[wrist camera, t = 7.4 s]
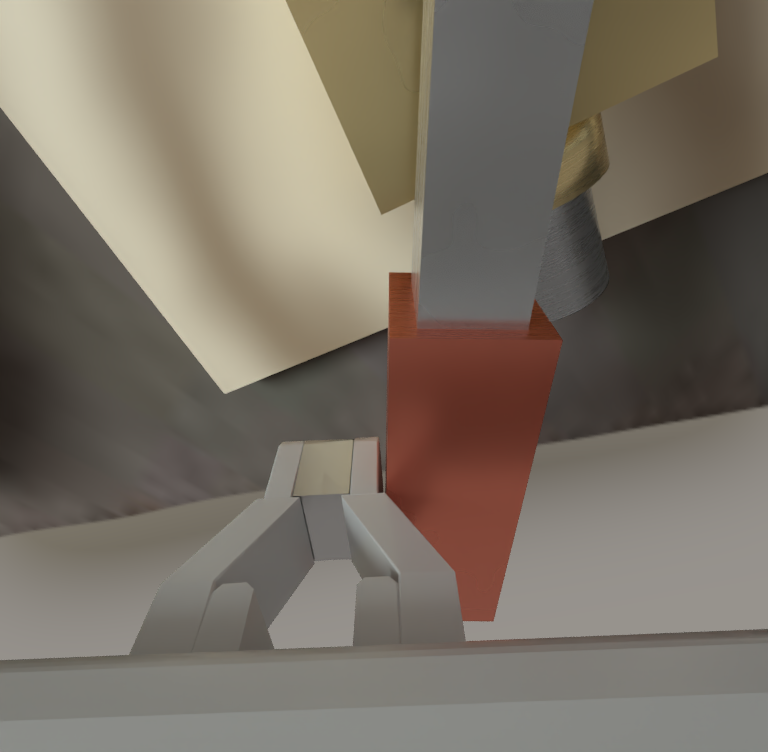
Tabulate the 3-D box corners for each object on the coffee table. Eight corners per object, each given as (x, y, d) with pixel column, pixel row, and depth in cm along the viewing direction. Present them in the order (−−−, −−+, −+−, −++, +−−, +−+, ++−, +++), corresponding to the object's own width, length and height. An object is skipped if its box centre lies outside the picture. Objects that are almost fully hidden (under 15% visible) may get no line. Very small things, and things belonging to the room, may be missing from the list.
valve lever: (388, -240, 6) (390, -517, 3) (601, -236, 6) (790, -517, 3) (381, 508, 13) (379, 620, 10) (475, 509, 13) (497, 621, 10)
